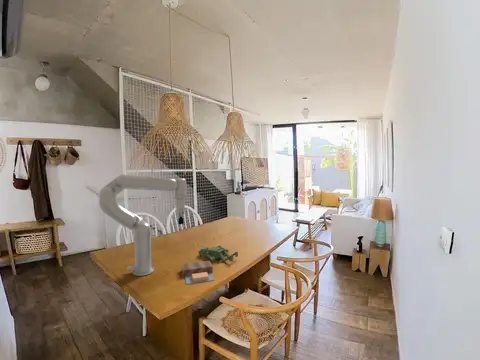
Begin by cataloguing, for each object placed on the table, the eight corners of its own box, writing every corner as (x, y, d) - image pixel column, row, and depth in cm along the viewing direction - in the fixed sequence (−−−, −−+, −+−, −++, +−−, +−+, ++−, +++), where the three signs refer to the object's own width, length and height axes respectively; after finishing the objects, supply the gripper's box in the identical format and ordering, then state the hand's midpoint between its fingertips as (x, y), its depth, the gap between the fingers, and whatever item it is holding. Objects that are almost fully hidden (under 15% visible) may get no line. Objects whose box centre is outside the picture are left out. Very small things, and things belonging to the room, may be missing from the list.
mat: (186, 284, 143) (186, 283, 143) (184, 276, 153) (184, 276, 153) (214, 280, 148) (214, 279, 148) (211, 273, 157) (211, 272, 157)
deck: (182, 276, 153) (182, 270, 152) (181, 270, 162) (181, 264, 162) (212, 272, 158) (212, 266, 158) (209, 266, 167) (209, 260, 167)
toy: (242, 256, 185) (208, 252, 199) (241, 246, 184) (207, 242, 198) (227, 267, 166) (191, 261, 180) (226, 255, 166) (190, 251, 180)
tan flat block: (191, 274, 151) (191, 277, 151) (193, 278, 145) (193, 281, 145) (206, 271, 154) (206, 275, 154) (208, 276, 148) (208, 279, 148)
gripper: (174, 195, 176) (174, 222, 177) (175, 198, 162) (175, 227, 163) (185, 195, 178) (185, 221, 179) (187, 198, 164) (187, 226, 165)
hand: (181, 223), depth 171 cm, fingers closed
